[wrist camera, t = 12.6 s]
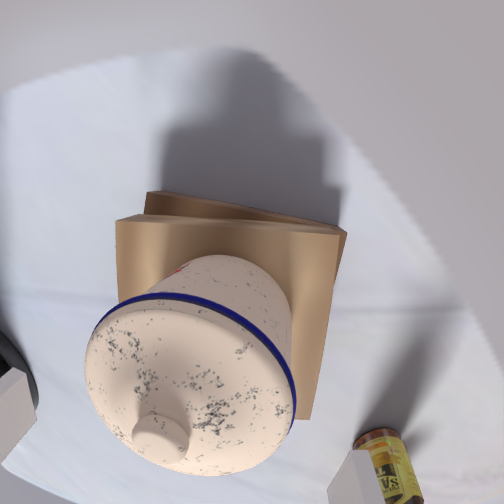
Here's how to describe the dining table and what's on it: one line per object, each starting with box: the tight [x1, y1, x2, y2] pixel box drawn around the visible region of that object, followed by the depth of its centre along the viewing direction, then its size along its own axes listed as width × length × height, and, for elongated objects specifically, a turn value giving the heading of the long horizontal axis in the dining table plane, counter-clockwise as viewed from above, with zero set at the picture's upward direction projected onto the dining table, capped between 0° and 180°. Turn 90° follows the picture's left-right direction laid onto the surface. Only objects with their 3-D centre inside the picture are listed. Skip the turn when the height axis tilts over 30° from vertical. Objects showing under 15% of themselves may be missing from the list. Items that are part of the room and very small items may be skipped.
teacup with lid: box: [85, 255, 297, 476], centre depth 15 cm, size 12×9×12 cm
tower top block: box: [116, 214, 340, 420], centre depth 23 cm, size 14×14×4 cm
